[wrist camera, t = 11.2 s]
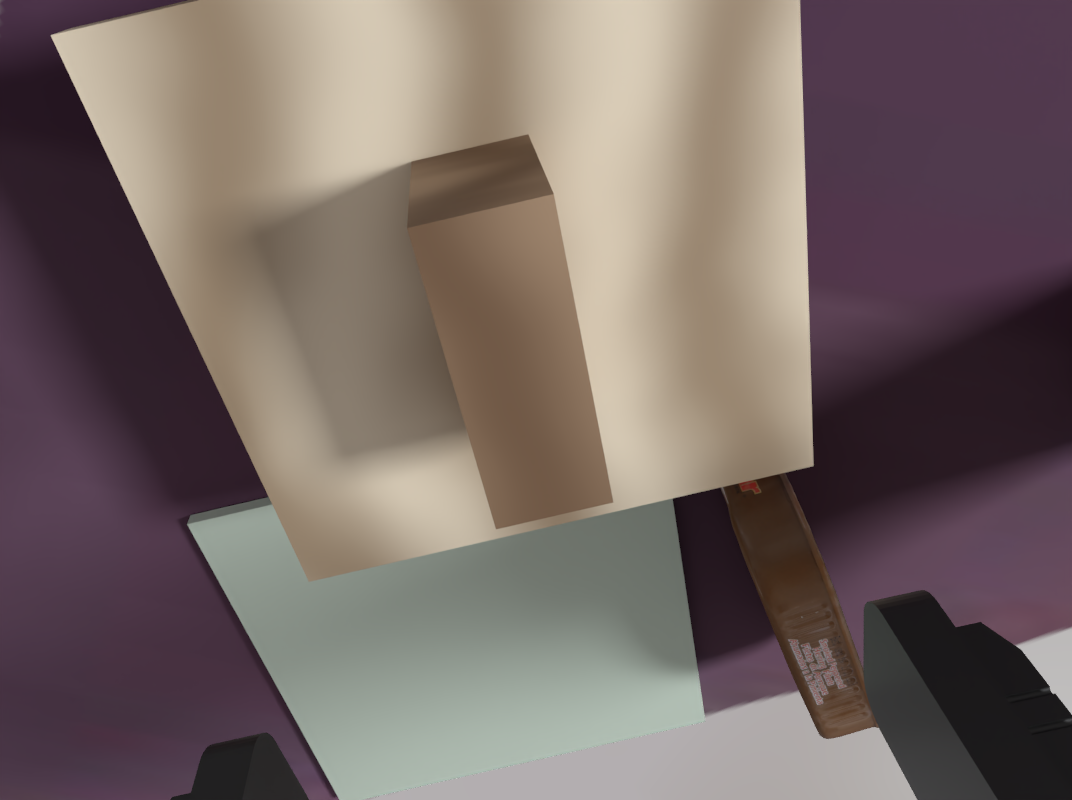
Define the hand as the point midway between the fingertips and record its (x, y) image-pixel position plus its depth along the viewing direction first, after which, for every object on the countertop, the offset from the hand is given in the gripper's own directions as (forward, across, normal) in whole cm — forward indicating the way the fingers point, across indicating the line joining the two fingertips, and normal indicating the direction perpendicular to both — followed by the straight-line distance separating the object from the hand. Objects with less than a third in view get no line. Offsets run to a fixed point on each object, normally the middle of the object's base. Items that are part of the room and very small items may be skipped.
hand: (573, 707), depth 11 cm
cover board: (+15, 0, 0) cm, 15 cm away
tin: (+22, -9, +18) cm, 30 cm away
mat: (+22, +5, +20) cm, 30 cm away
